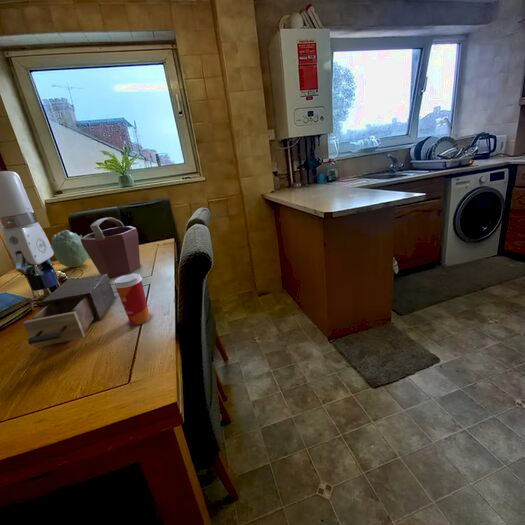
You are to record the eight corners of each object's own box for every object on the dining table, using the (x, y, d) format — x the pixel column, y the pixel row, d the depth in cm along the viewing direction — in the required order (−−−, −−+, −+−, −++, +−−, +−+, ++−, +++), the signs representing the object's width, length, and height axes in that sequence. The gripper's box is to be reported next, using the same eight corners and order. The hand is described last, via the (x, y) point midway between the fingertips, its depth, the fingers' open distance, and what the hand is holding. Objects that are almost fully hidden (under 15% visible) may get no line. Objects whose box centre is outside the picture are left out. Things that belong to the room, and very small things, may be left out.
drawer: (76, 348, 72) (65, 322, 70) (23, 359, 70) (10, 333, 68) (102, 310, 91) (94, 289, 89) (61, 318, 89) (52, 297, 87)
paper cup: (127, 317, 87) (114, 276, 82) (153, 310, 89) (141, 270, 84) (125, 330, 80) (110, 286, 75) (153, 322, 82) (140, 279, 77)
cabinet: (100, 319, 88) (90, 292, 84) (53, 329, 85) (41, 301, 82) (115, 297, 103) (107, 273, 100) (76, 304, 101) (66, 280, 98)
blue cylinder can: (30, 292, 75) (23, 278, 74) (41, 284, 80) (35, 271, 79) (52, 287, 76) (46, 274, 75) (62, 280, 81) (56, 267, 80)
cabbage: (95, 258, 159) (83, 224, 152) (92, 267, 142) (78, 229, 135) (63, 265, 153) (49, 230, 146) (56, 275, 136) (40, 236, 129)
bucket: (122, 280, 118) (104, 223, 110) (80, 281, 124) (59, 227, 115) (154, 260, 141) (141, 211, 132) (117, 262, 146) (102, 214, 137)
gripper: (14, 225, 64) (44, 295, 71) (51, 214, 80) (73, 271, 87) (-23, 231, 63) (12, 301, 69) (22, 218, 79) (47, 276, 85)
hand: (45, 284), depth 78 cm, fingers closed on blue cylinder can, 5 cm apart
